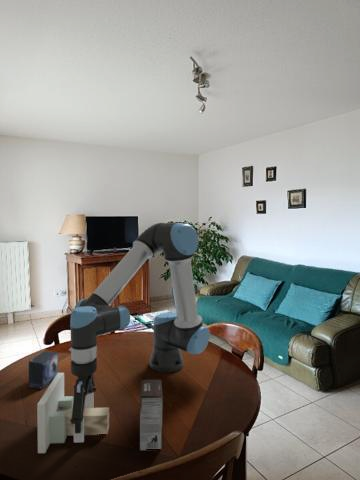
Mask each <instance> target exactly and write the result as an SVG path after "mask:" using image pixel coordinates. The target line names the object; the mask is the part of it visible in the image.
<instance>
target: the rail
mask: <svg viewBox="0 0 360 480" xmlns="http://www.w3.org/2000/svg"><path fill="white" fill-rule="evenodd" d="M72 410H73V408H71V409H62V407H58V409H57V411H66V428H67V436H68V437H69V436H73V437H74V424H71V422H70V419H72ZM57 411H56V412H57ZM83 419H84V436H99V434H106V435H108V433H109V427H110V407H94V408H85V407H84V413H83ZM97 434H98V435H97Z"/></svg>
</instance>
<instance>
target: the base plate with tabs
mask: <svg viewBox="0 0 360 480" xmlns="http://www.w3.org/2000/svg"><path fill="white" fill-rule="evenodd" d="M73 400H74V395H71V396H69V395H68V396H67V395H66V396H65V372H58V373H57V375H56V376H55V378H54V380H53V381H52V382H51V383H49V386H48V387H47V389H46V390H45V392H44V393H43V394H42V396H41V398H40V400H39V401H38V403H37V404H36V407H37V408H36V409H37V413H36V414H37V422H36V423H37V454H46V452H47V450H48V449H49V446H50V445H51V444H64V443H66V440H67V428H66V411H57V409H58V407H62V409H71V408H73ZM56 411H57V412H56Z"/></svg>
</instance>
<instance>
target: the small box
mask: <svg viewBox="0 0 360 480" xmlns="http://www.w3.org/2000/svg"><path fill="white" fill-rule="evenodd" d="M58 361H59V352H56V351H55V352H54V351H49V350H44V351H42V352H41V353H39V354H37V355H36V356H34V357H33V358H31V359H30V360H28V388H29V389H37V390H43V389H44V388H46V387H47V386H48V385H50V384H51V383H52V381H53V380H54V378H55V376H56V375H57V373H59V366H58V365H59V362H58Z"/></svg>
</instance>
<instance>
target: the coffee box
mask: <svg viewBox="0 0 360 480" xmlns="http://www.w3.org/2000/svg"><path fill="white" fill-rule="evenodd" d="M139 395H140V397H139V403H140V404H139V451H147V450H146V449H161V448H162V446H163V445H162V444H163V440H162V439H163V383H162V379H141V380H140V394H139ZM162 449H163V448H162ZM162 449H161V450H162Z"/></svg>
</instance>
